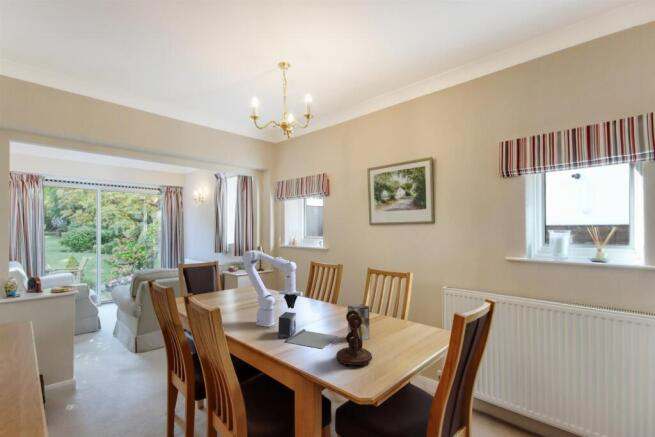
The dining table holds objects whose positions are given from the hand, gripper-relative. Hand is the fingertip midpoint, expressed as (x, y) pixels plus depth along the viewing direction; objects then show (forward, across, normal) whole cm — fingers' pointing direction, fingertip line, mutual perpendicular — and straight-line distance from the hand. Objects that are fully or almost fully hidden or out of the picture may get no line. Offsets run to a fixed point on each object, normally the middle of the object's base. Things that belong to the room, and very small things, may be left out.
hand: (290, 308), depth 174 cm
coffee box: (+12, +40, -1) cm, 42 cm away
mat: (+11, +20, -12) cm, 26 cm away
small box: (+11, +5, -12) cm, 17 cm away
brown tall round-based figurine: (+12, +47, -26) cm, 55 cm away
